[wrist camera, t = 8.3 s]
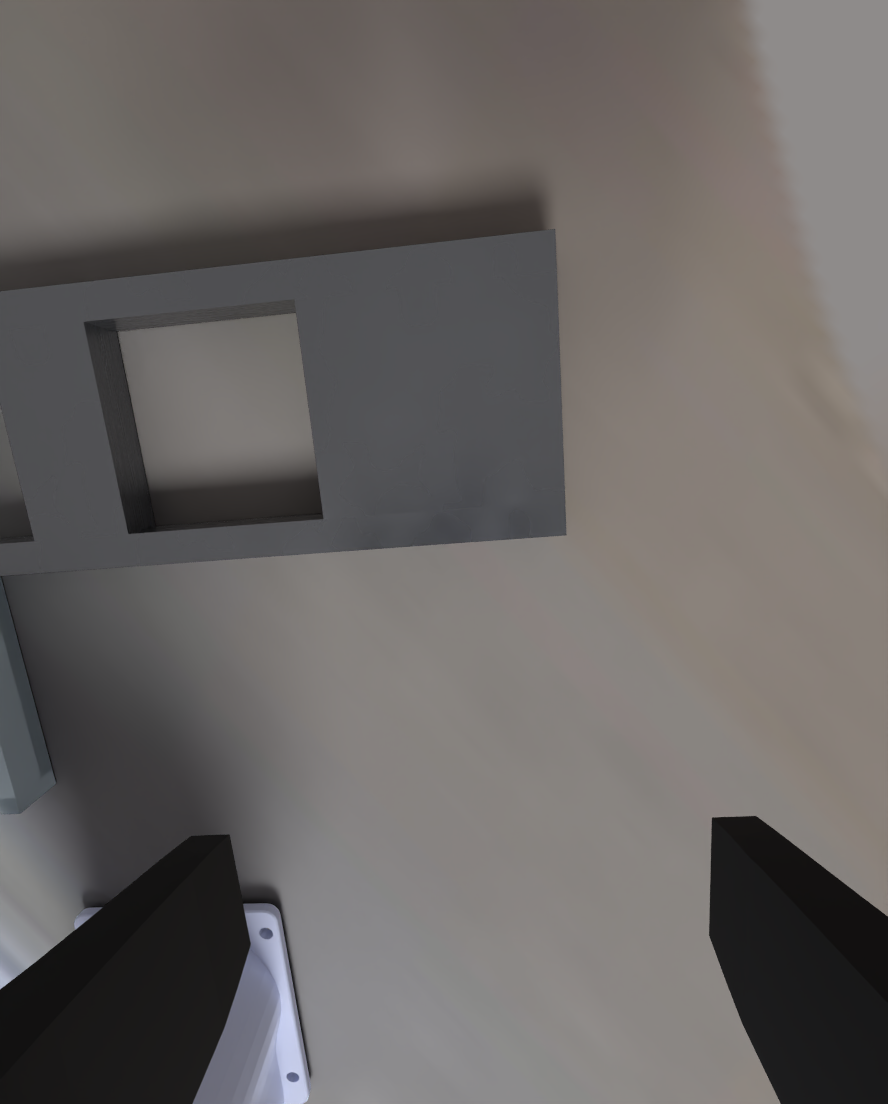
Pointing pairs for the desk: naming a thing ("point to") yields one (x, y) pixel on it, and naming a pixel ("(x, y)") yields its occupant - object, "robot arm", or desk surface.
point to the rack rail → (333, 398)
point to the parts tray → (18, 727)
